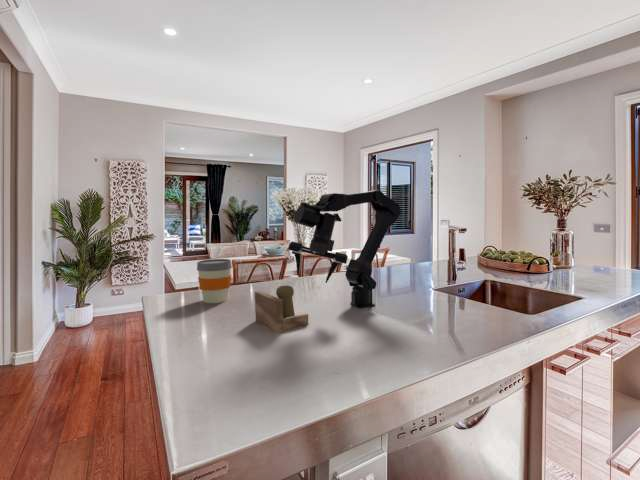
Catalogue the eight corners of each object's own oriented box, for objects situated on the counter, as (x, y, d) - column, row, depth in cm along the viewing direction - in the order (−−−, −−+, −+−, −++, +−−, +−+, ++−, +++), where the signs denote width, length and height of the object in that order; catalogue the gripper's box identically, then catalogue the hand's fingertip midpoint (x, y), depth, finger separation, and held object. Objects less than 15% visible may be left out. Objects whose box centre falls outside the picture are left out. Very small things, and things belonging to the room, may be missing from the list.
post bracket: (287, 314, 111) (286, 286, 110) (310, 325, 99) (310, 294, 98) (255, 320, 104) (254, 291, 104) (276, 333, 93) (275, 301, 92)
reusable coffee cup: (237, 300, 128) (236, 261, 127) (203, 306, 121) (201, 264, 120) (226, 294, 139) (225, 257, 137) (194, 299, 132) (192, 261, 130)
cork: (286, 327, 98) (285, 289, 97) (271, 323, 102) (270, 286, 101) (300, 321, 103) (299, 285, 102) (285, 317, 107) (284, 283, 106)
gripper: (292, 221, 102) (279, 272, 101) (353, 235, 101) (340, 287, 99) (296, 226, 113) (285, 272, 112) (351, 239, 112) (340, 286, 110)
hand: (311, 279), depth 108 cm, fingers open, 9 cm apart
